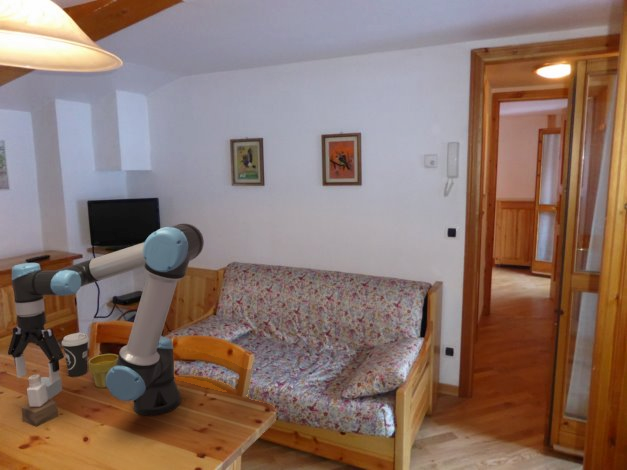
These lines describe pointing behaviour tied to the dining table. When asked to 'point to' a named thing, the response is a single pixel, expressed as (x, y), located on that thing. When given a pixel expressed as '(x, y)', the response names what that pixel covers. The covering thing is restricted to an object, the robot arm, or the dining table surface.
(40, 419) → the walnut block
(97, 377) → the plant pot
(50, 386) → the grey-blue block
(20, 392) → the dining table surface
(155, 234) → the robot arm
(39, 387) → the pepper shaker
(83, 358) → the coffee cup
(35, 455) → the dining table surface
